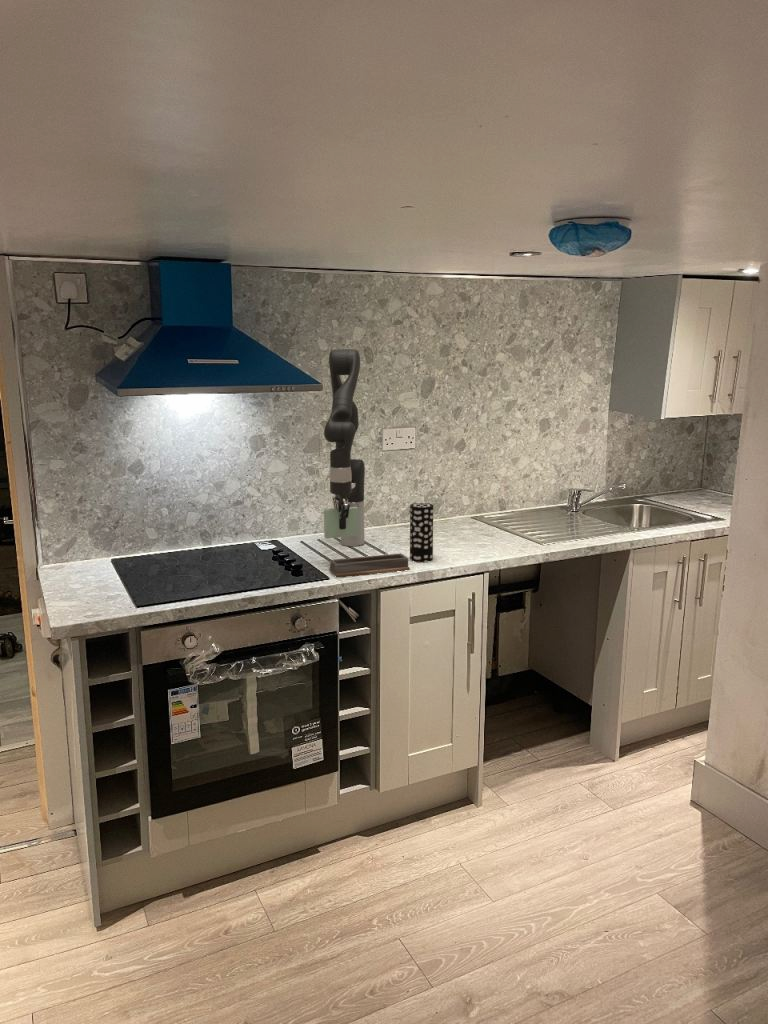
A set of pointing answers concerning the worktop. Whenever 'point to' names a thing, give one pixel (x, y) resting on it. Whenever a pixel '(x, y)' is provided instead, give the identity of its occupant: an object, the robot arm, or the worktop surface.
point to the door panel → (333, 523)
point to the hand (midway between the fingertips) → (341, 527)
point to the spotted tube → (421, 532)
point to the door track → (369, 565)
